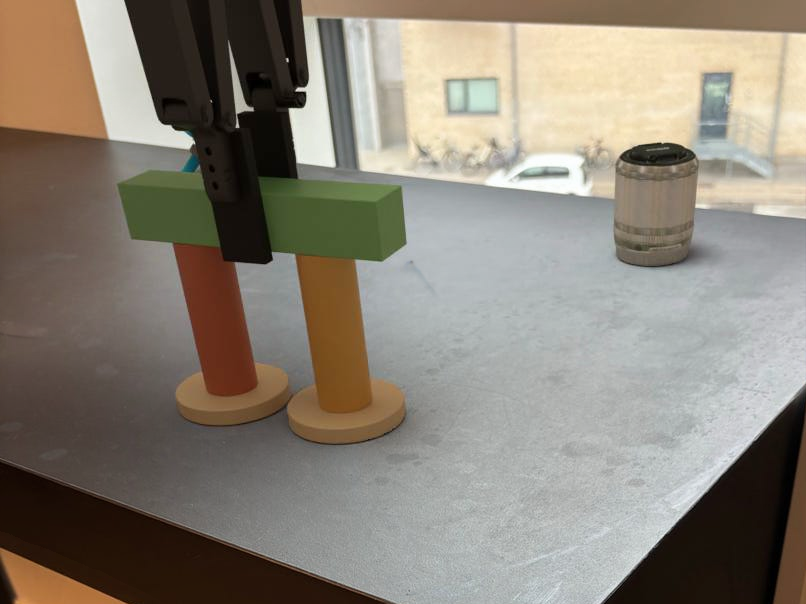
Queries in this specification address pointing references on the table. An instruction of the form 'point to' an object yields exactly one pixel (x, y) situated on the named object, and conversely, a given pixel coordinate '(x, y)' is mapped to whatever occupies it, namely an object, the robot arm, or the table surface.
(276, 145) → the robot arm
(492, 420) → the table surface
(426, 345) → the table surface
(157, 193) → the green bar
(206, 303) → the terracotta rod
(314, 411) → the ochre rod
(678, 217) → the camera lens
